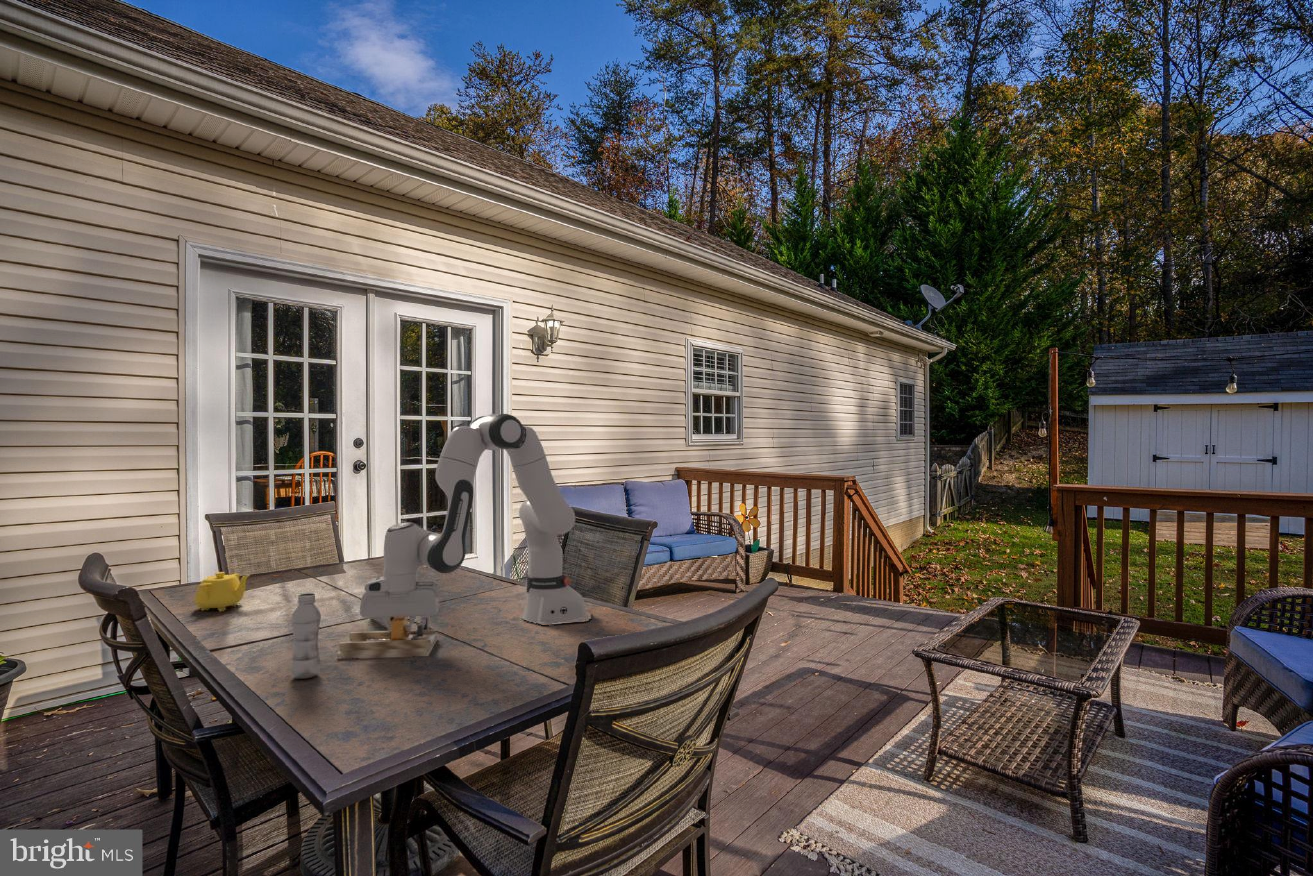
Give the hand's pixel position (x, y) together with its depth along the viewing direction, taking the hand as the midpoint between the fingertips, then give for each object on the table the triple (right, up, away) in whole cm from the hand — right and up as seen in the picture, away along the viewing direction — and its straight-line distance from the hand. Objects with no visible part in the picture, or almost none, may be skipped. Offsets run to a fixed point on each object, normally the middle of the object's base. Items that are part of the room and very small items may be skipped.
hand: (399, 632), depth 177 cm
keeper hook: (+5, -3, +4) cm, 7 cm away
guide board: (-3, -5, 0) cm, 5 cm away
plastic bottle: (-14, -5, -22) cm, 26 cm away
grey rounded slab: (-14, -5, +23) cm, 27 cm away
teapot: (-73, -3, +36) cm, 81 cm away
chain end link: (0, -3, 0) cm, 3 cm away
